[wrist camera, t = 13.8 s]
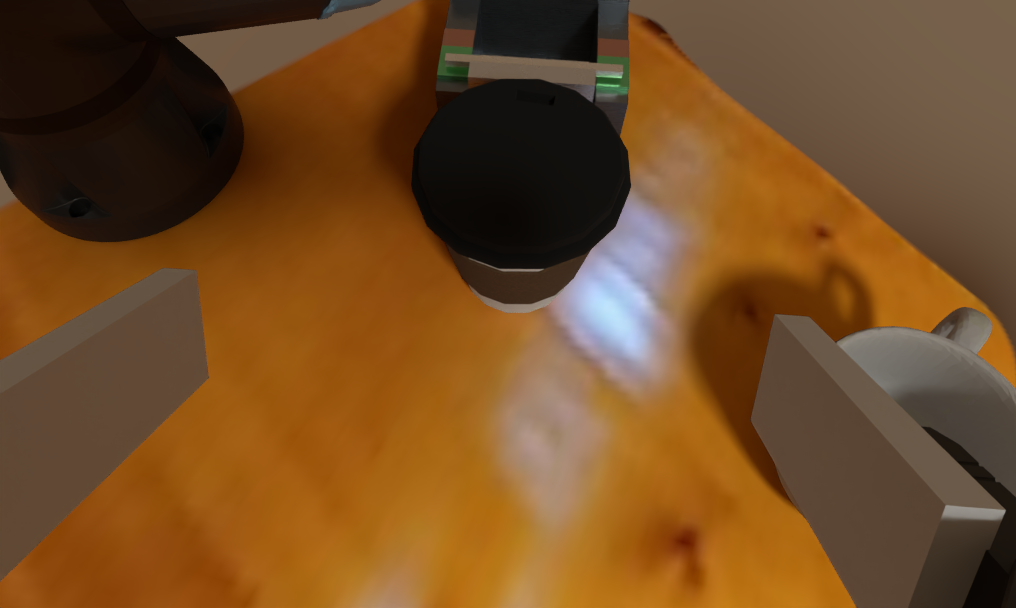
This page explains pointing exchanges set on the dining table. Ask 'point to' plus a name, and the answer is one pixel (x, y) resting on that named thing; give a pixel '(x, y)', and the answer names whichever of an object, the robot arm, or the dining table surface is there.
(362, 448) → the dining table surface
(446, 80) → the grey box
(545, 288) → the coffee cup
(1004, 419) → the teacup
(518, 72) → the grey bracket with plate
